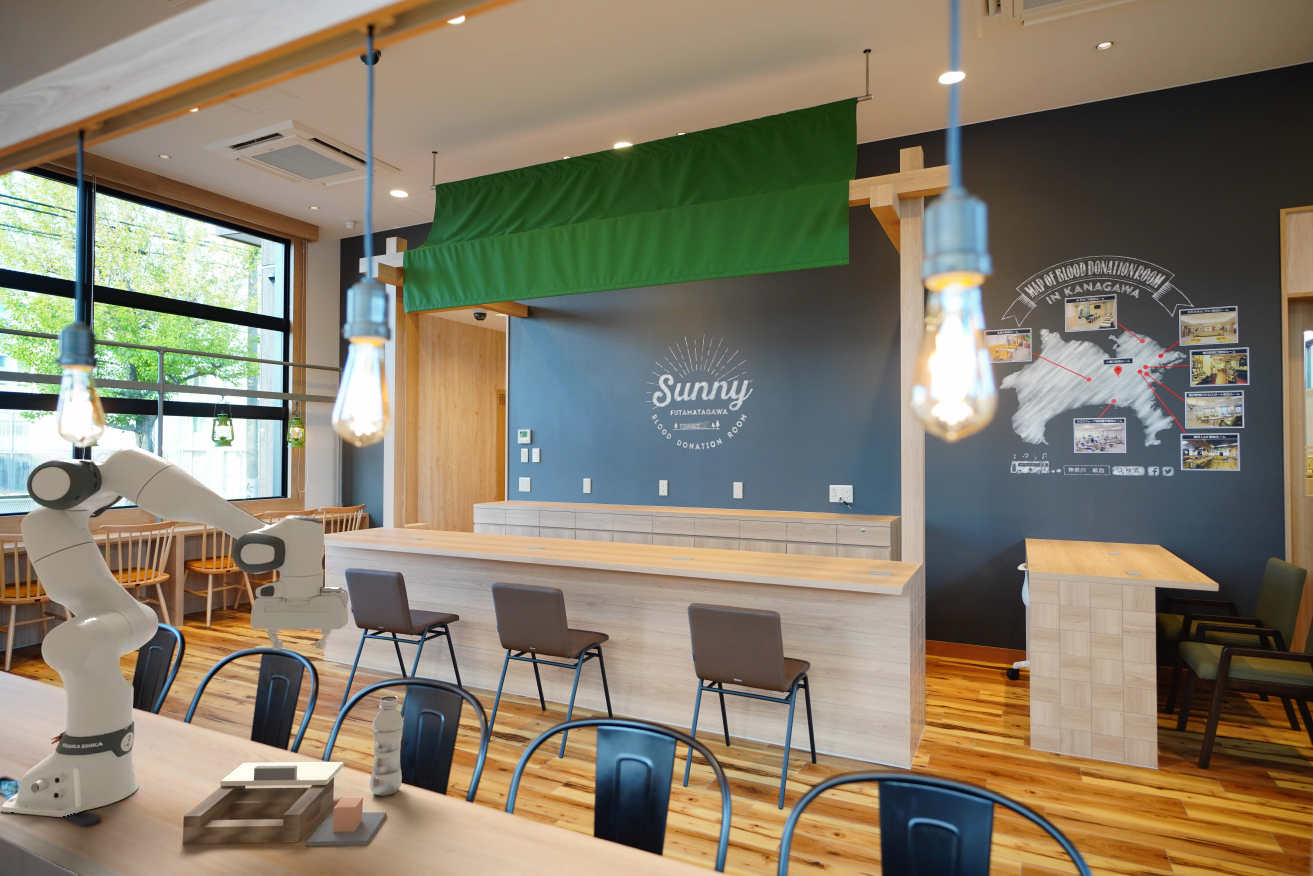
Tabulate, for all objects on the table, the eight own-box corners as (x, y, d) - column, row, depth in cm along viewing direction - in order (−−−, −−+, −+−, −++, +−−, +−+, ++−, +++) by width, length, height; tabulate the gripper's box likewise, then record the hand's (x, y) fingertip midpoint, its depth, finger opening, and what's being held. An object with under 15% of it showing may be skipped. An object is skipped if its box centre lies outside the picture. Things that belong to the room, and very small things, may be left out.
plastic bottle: (371, 802, 147) (374, 705, 148) (368, 789, 153) (371, 696, 154) (403, 796, 150) (406, 701, 151) (399, 783, 156) (402, 692, 157)
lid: (220, 786, 142) (221, 768, 142) (243, 767, 151) (244, 751, 151) (326, 784, 143) (327, 767, 144) (343, 766, 152) (344, 750, 153)
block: (333, 831, 134) (333, 807, 134) (341, 821, 138) (342, 797, 138) (354, 831, 134) (355, 807, 134) (362, 820, 138) (362, 797, 138)
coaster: (306, 846, 130) (306, 841, 130) (330, 816, 141) (330, 812, 141) (367, 845, 130) (367, 840, 131) (386, 816, 141) (386, 812, 141)
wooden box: (182, 843, 130) (183, 816, 130) (229, 803, 146) (230, 778, 146) (298, 842, 131) (299, 814, 131) (333, 801, 147) (334, 777, 147)
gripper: (353, 584, 162) (351, 645, 162) (262, 584, 161) (260, 645, 160) (343, 589, 156) (340, 652, 155) (248, 589, 155) (245, 652, 154)
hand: (299, 649), depth 158 cm, fingers open, 8 cm apart
